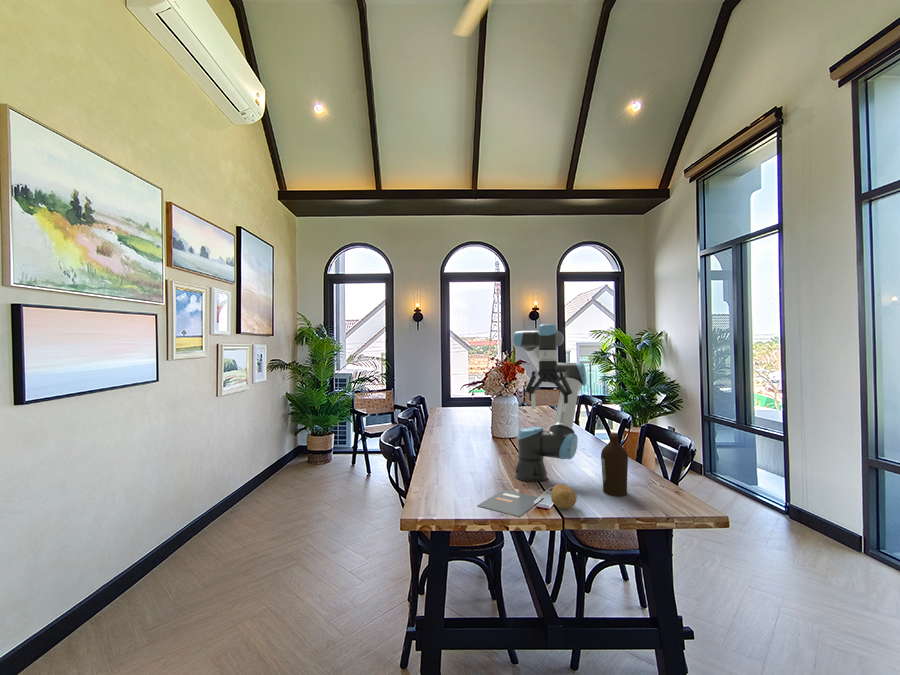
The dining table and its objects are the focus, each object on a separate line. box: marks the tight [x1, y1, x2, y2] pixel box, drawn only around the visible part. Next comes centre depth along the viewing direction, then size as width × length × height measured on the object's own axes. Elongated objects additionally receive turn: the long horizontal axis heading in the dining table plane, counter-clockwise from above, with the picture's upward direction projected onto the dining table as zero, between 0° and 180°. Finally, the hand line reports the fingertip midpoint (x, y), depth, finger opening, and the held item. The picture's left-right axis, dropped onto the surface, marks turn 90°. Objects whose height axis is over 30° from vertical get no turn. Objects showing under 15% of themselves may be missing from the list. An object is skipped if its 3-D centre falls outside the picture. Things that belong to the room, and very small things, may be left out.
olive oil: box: [600, 431, 629, 497], centre depth 173 cm, size 11×11×25 cm
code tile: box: [477, 489, 539, 518], centre depth 161 cm, size 22×18×1 cm
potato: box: [550, 483, 577, 510], centre depth 157 cm, size 10×14×8 cm
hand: (548, 410), depth 174 cm, fingers open, 13 cm apart
